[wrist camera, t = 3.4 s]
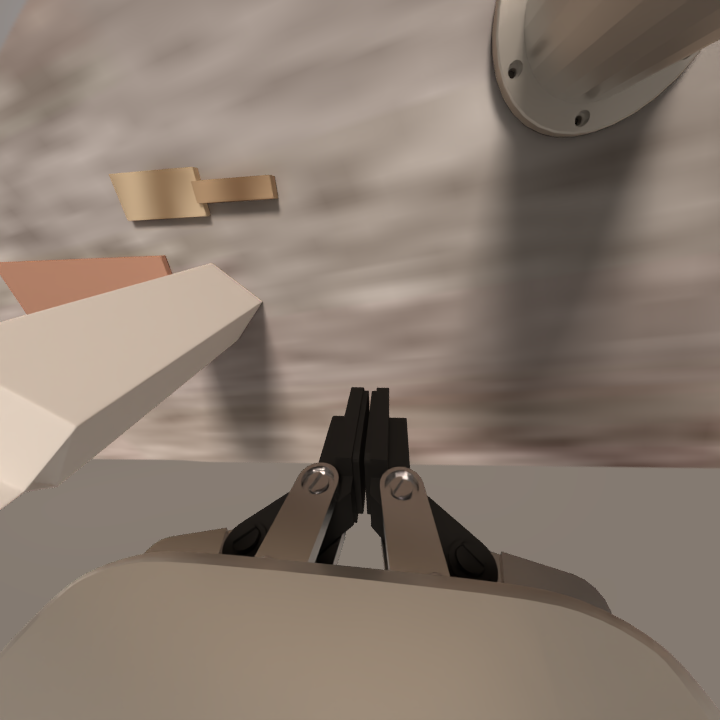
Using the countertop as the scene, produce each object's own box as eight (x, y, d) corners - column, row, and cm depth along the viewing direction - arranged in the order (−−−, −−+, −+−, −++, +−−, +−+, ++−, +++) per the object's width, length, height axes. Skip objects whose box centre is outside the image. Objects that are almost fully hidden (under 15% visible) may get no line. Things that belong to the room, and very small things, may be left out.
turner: (134, 220, 26) (125, 220, 25) (116, 175, 24) (105, 173, 23) (280, 211, 24) (275, 211, 23) (272, 161, 22) (266, 159, 21)
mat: (-1, 262, 29) (-8, 263, 29) (165, 255, 27) (160, 256, 26) (54, 345, 34) (48, 347, 34) (198, 345, 32) (195, 348, 31)
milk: (212, 262, 27) (-263, 386, 7) (264, 301, 28) (-23, 493, 9) (190, 306, 29) (-203, 484, 10) (238, 341, 31) (-26, 555, 11)
